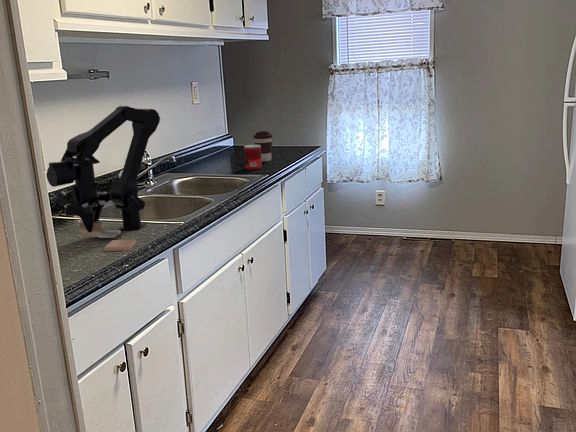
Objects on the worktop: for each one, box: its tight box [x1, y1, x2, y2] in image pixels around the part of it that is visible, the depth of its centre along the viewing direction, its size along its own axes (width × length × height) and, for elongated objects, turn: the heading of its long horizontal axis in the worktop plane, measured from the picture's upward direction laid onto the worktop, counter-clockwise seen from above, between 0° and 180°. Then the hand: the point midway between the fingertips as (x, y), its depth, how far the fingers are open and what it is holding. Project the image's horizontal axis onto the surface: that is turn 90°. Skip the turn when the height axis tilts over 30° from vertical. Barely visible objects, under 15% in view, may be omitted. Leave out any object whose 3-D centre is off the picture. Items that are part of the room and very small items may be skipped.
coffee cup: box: [252, 130, 273, 163], centre depth 303 cm, size 10×10×15 cm
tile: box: [104, 239, 137, 252], centre depth 169 cm, size 7×2×7 cm
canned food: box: [243, 144, 263, 171], centre depth 283 cm, size 8×8×11 cm
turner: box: [79, 221, 122, 239], centre depth 177 cm, size 5×11×4 cm, turn 84°
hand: (92, 230), depth 177 cm, fingers closed on turner, 2 cm apart
